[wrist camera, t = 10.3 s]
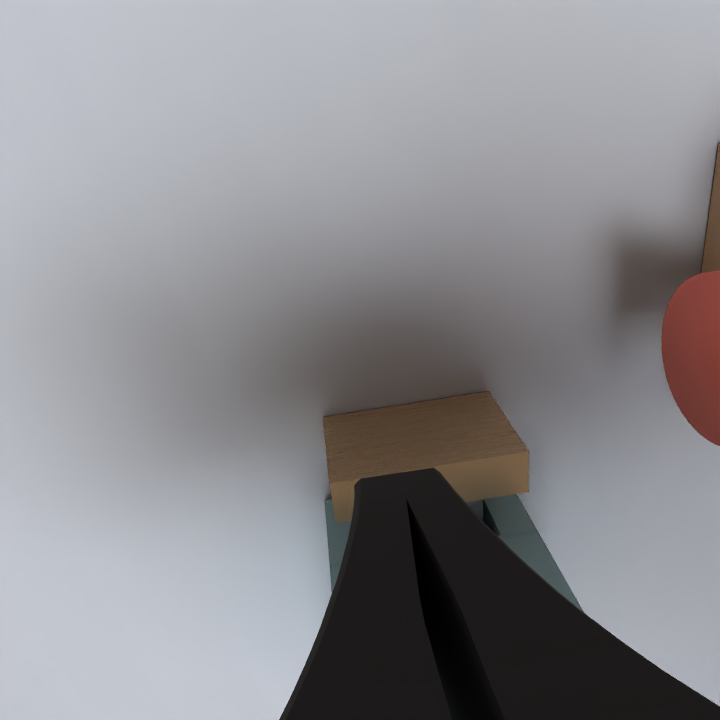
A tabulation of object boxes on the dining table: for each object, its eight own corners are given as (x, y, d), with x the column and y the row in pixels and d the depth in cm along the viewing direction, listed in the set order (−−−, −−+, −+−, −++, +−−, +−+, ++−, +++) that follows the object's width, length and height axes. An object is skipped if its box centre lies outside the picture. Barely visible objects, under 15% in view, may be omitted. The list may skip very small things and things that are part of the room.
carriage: (503, 471, 15) (594, 631, 10) (505, 612, 17) (582, 795, 12) (324, 500, 14) (338, 677, 10) (349, 639, 17) (370, 836, 12)
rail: (488, 391, 14) (528, 451, 11) (500, 803, 21) (526, 892, 19) (323, 417, 14) (329, 483, 11) (391, 824, 21) (403, 917, 18)
